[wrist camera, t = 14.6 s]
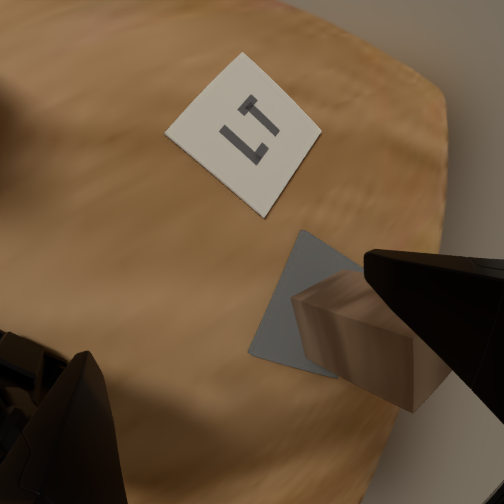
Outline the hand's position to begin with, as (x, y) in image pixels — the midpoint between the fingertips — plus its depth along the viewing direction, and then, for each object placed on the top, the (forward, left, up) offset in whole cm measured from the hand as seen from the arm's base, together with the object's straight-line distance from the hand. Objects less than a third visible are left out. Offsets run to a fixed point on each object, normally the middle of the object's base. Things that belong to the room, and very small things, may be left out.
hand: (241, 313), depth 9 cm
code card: (+11, -2, -12) cm, 17 cm away
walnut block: (+2, -14, -11) cm, 18 cm away
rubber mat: (+2, -14, -12) cm, 18 cm away
